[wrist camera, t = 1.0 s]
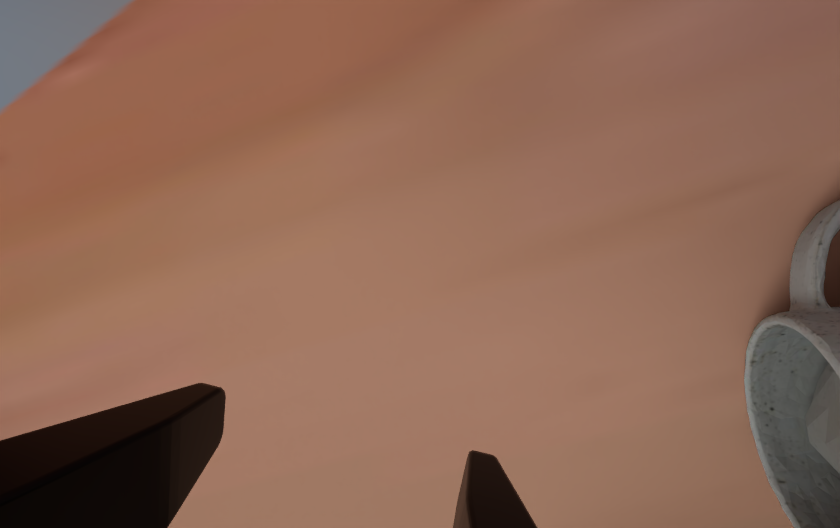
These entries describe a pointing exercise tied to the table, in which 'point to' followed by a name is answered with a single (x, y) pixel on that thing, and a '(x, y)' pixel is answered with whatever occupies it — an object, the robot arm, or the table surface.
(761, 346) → the ceramic mug
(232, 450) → the table surface
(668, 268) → the table surface
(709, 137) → the table surface
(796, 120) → the table surface
